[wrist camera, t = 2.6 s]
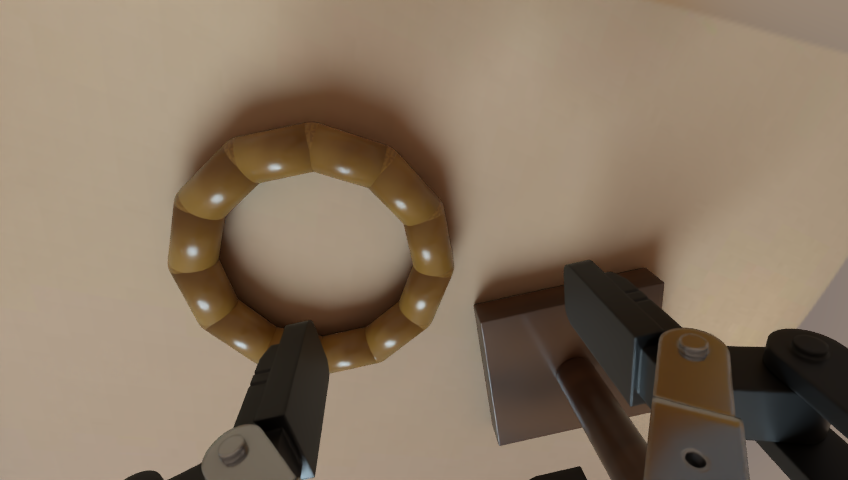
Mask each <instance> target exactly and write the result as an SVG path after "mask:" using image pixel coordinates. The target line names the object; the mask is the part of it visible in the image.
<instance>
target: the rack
mask: <svg viewBox="0 0 848 480" xmlns="http://www.w3.org/2000/svg"><path fill="white" fill-rule="evenodd" d="M618 275H620V276H622V277H625V278H627V279H628V280H629V281H630V282H632V283H633V284H634V285H635V286H636V287H637V288H638V289H639V291H642V292H643V293H644V294H645V295H646V296H647V297H648V299H651V300H652V301H653V302H654V303H655V304H656V305H657V306H659V307H660V308H661V309H662V301H663V291H664V282H663V281H662V280H660V279H659V278H658V277H657V276H655V275H654V274H653V273H652V272H650V271H649V270H648V269H647V268H642V269H637V270H632V271H628V272H623V273H619V274H618ZM474 311H475V317H476V323H477V330H478V336H479V342H480V349H481V355H482V362H483V368H484V374H485V381H486V387H487V393H488V400H489V406H490V412H491V419H492V425H493V428H494V431H495V435H496V438H497V441H498V444H499V446H501V445H506V444H510V443H515V442H519V441H524V440H528V439H533V438H537V437H542V436H546V435H551V434H555V433H560V432H564V431H569V430H573V429H578V428H582V427H583V429H584V431H585V433H586V435H587V436H588V438H589V440H590V442H591V444H592V446H593V447H594V449H595V451H596V453H597V455H598V457H599V458H600V460H601V462H602V464H603V466H604V468H605V469H606V471H607V473H608V475H609V477H610V479H611V480H643V479H644V470H645V461H646V452H647V443H646V442H645V440H644V439H643V437H642V436H641V434H640V433H639V431H638V430H637V428H636V427H635V425H634V424H633V423H632V421H631V420H630V418H629V417H632V416H636V415H641V414H645V413H650V412H651V409H650V408H649V406H648V405H647V404H646V403H645V404H641V405H637V406H632V407H630V405H629V404H628V403H627V401H626V400H625V399H624V397H623V396H622V394H621V393H620V392H619V390H618V389H617V388H616V386H615V385H614V383H613V382H612V381H611V379H610V378H609V376H608V375H607V374H606V372H605V371H604V370H603V368H602V367H601V365H600V364H599V363H598V361H597V360H596V359H595V357H594V356H593V354H592V353H591V352H590V350H589V349H588V347H587V346H586V345H585V343H584V342H583V341H582V339H581V338H580V336H579V335H578V334H577V332H576V331H575V330H574V328H573V327H572V325H571V324H570V322H569V320H568V317H567V314H566V310H565V298H564V285H563V286H559V287H554V288H549V289H545V290H540V291H536V292H531V293H526V294H522V295H517V296H512V297H508V298H503V299H499V300H494V301H489V302H485V303H480V304H476V305H474Z"/></svg>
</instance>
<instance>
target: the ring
mask: <svg viewBox="0 0 848 480" xmlns="http://www.w3.org/2000/svg"><path fill="white" fill-rule="evenodd" d="M309 172H317V173H320V174H323V175H327V176H330V177H333V178H337V179H340V180H343V181H347V182H350V183H353V184H357V185H360V186H364V187H367V188H369V189H370V190H371V191H372V192H373V193H374V194H375V195H376V196H377V197H378V198H379V199H380V200H381V201H382V202H383V203H384V204H385V205H386V206H387V207H388V208H389V209H390V210H391V211H392V212H393V213H394V214H395V215H396V216H397V217H398V219H399V220H400V221H401V222H402V223H403V224H404V227H405V232H406V236H407V240H408V245H409V249H410V254H411V258H412V262H413V266H412V269H411V271H410V274H409V277H408V279H407V282H406V285H405V287H404V290H403V293H402V295H401V298H400V300H399V302H397V303H396V304H395V305H394V306H392V307H391V308H390V309H389V310H387V311H386V312H385V313H384V314H382V315H381V316H380V317H379V318H377V319H376V320H375V321H373V322H372V323H371V324H370V325H368V326H367V327H363V328H358V329H354V330H349V331H344V332H340V333H335V334H331V335H326V336H320V335H318V336H319V339H320V341H321V344H322V347H323V349H324V352H325V354H326V357H327V360H328V365H329V374H330V373H334V372H339V371H343V370H348V369H352V368H357V367H362V366H366V365H371V364H375V363H379V362H382V361H384V360H385V359H387V358H388V357H389V356H391V355H392V354H393V353H395V352H396V351H397V350H399V349H400V348H401V347H402V346H404V345H405V344H406V343H408V342H409V341H410V340H412V339H413V338H414V337H416V336H417V335H418V334H420V333H421V332H422V331H424V330H425V329H426V328H427V327H428V326H429V325H430V324H431V322H432V320H433V318H434V316H435V314H436V311H437V309H438V307H439V304H440V302H441V300H442V297H443V295H444V293H445V290H446V288H447V286H448V283H449V281H450V279H451V276H452V274H453V270H454V262H453V256H452V250H451V245H450V239H449V233H448V228H447V222H446V216H445V210H444V206H443V204H442V202H441V200H440V199H439V198H438V197H437V196H436V195H435V193H434V192H433V191H432V190H431V189H430V188H429V187H428V186H427V185H426V184H425V182H424V181H423V180H422V179H421V178H420V177H419V176H418V175H417V174H416V172H415V171H414V170H413V169H412V168H411V167H410V166H409V165H408V164H407V163H406V161H405V160H404V159H403V158H402V157H401V156H400V155H399V154H398V153H397V152H396V151H395V150H394V149H393V148H391V147H390V146H387V145H384V144H381V143H378V142H375V141H372V140H369V139H366V138H363V137H360V136H357V135H354V134H351V133H348V132H344V131H341V130H338V129H335V128H332V127H329V126H326V125H323V124H320V123H317V122H307V123H302V124H297V125H292V126H287V127H283V128H278V129H273V130H268V131H263V132H259V133H254V134H249V135H244V136H240V137H236V138H232V139H230V140H229V141H227V142H226V143H225V144H224V145H223V146H222V147H221V148H220V149H219V150H218V151H217V152H216V153H215V154H214V155H213V156H212V157H211V158H210V159H209V160H208V161H207V162H206V163H205V164H204V166H203V167H202V168H201V169H200V170H199V171H198V172H197V173H196V174H195V175H194V176H193V177H192V178H191V179H190V180H189V181H188V182H187V183H186V184H185V185H184V186H183V187H182V188H181V189H180V190H179V192H178V193H177V194H176V197H175V200H174V207H173V216H172V226H171V235H170V245H169V254H168V268H169V271H170V272H171V274H172V276H173V278H174V280H175V282H176V283H177V285H178V287H179V289H180V291H181V292H182V294H183V296H184V298H185V300H186V302H187V303H188V305H189V307H190V309H191V311H192V312H193V314H194V316H195V318H196V320H197V321H198V323H199V325H200V326H201V327H202V328H203V329H204V330H206V331H207V332H209V333H211V334H212V335H214V336H215V337H217V338H218V339H220V340H221V341H223V342H224V343H226V344H227V345H229V346H230V347H232V348H233V349H235V350H236V351H238V352H239V353H241V354H242V355H244V356H245V357H247V358H248V359H250V360H251V361H253V362H255V363H257V364H258V362H259V360H260V358H261V357H262V356H263V354H264V353H265V352H266V351H267V350H268V348H269V347H270V346H271V345H275V344H279V343H280V340H281V337H282V334H283V331H284V328H280V327H276V326H275V325H273V324H272V323H270V322H269V321H268V320H266V319H265V318H263V317H262V316H261V315H259V314H258V313H257V312H255V311H254V310H252V309H251V308H250V307H248V306H247V305H245V304H244V303H243V302H241V301H240V300H239V299H238V298H237V296H236V294H235V292H234V290H233V288H232V286H231V284H230V282H229V280H228V277H227V275H226V273H225V271H224V269H223V267H222V265H221V263H220V261H219V253H220V246H221V240H222V234H223V228H224V221H225V216H226V215H227V214H228V213H229V212H230V211H231V210H232V209H233V208H234V207H235V206H236V205H237V204H238V203H239V202H240V201H241V200H242V199H243V198H245V197H246V196H247V195H248V194H249V193H250V192H251V191H252V190H253V189H254V188H255V187H256V186H257V185H258V184H259V183H262V182H267V181H271V180H276V179H281V178H286V177H290V176H295V175H300V174H304V173H309Z"/></svg>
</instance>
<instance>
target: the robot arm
mask: <svg viewBox="0 0 848 480" xmlns="http://www.w3.org/2000/svg"><path fill="white" fill-rule="evenodd" d="M564 298H565V310H566V314H567V317H568V320H569V322H570V324H571V325H572V327H573V328H574V330H575V331H576V332H577V334H578V335H579V336H580V338H581V339H582V341H583V342H584V343H585V345H586V346H587V347H588V349H589V350H590V352H591V353H592V354H593V356H594V357H595V359H596V360H597V361H598V363H599V364H600V365H601V367H602V368H603V370H604V371H605V372H606V374H607V375H608V376H609V378H610V379H611V381H612V382H613V383H614V385H615V386H616V388H617V389H618V390H619V392H620V393H621V394H622V396H623V397H624V399H625V400H626V401H627V403H628V404H629V405H630V407H632V406H637V405H641V404H645V403H646V404H647V405H648V406H649V408H650V409H651V415H650V424H649V433H648V442H647V452H646V461H645V470H644V479H643V480H750V477H749V468H748V460H747V449H746V440H755V441H756V442H757V443H758V444H759V445H760V446H761V447H762V449H763V450H764V451H765V452H766V453H767V454H768V455H769V456H770V457H771V459H772V460H773V461H774V462H775V463H776V464H777V465H778V466H779V467H780V468H781V470H782V471H783V472H784V473H785V474H786V475H787V476H788V477H789V478H790V480H848V444H847V443H846V442H845V441H844V440H843V439H842V438H841V437H839V436H838V435H837V434H836V433H835V432H834V431H832V429H830V425H831V424H832V425H833V426H834V427H835V428H836V429H837V430H838V431H840V432H841V433H842V434H843V435H844V436H845V437H847V438H848V348H846V347H845V346H843V345H842V344H840V343H838V342H837V341H835V340H833V339H831V338H829V337H827V336H824V335H821V334H819V333H815V332H812V331H807V330H801V329H781V330H777V331H775V332H772V333H771V334H770V335H769V336H768V339H767V343H766V347H735V346H726V345H725V344H724V343H723V342H722V341H721V340H720V339H718V338H717V337H715V336H713V335H711V334H709V333H707V332H704V331H701V330H697V329H692V328H682V327H681V326H680V325H679V324H678V323H677V322H675V321H674V320H673V319H672V318H671V317H670V316H669V315H668V314H666V313H665V312H664V311H663V310H662V309H661V308H660V307H659V306H657V305H656V304H655V303H654V302H653V301H652V300H651V299H648V297H647V296H646V295H645V294H644V293H643V292H642V291H639V289H638V288H637V287H636V286H635V285H634V284H633V283H632V282H630V281H629V280H628V279H627V278H625V277H622V276H620V275H618V274H615V273H613V272H607V273H604V272H603V271H602V270H601V269H600V268H599V267H598V266H597V265H596V264H595V263H594V262H593V261H591V260H586V261H582V262H577V263H572V264H568V265H565V267H564ZM328 382H329V365H328V360H327V357H326V354H325V352H324V349H323V347H322V344H321V341H320V339H319V336H318V333H317V331H316V328H315V326H314V324H313V322H312V321H311V320H309V321H304V322H299V323H295V324H290V325H286V326H285V328H284V331H283V334H282V337H281V340H280V343H279V344H275V345H271V346H270V347H269V348H268V350H267V351H266V352H265V353H264V354H263V356H262V357H261V358H260V360H259V362H258V365H257V367H256V370H255V375H253V378H252V380H251V383H250V385H251V386H250V387H249V388H248V391H247V394H246V396H245V399H244V401H243V404H242V407H241V409H240V412H239V415H238V417H237V420H236V422H235V425H234V428H233V429H231V430H229V431H227V432H226V433H224V434H223V435H221V436H220V437H219V438H218V439H217V440H216V441H214V443H213V444H212V445H211V446H210V447H209V449H208V450H207V452H206V453H205V455H204V458H203V460H202V463H200V464H199V465H197V466H195V467H193V468H191V469H189V470H187V471H185V472H183V473H181V474H179V475H177V476H175V477H173V478H171V479H169V480H305V479H309V478H313V477H315V472H316V465H317V458H318V451H319V444H320V438H321V431H322V424H323V417H324V410H325V403H326V396H327V389H328ZM125 480H164V479H163V478H162V477H161V475H160V474H159V473H158V472H156V471H143V472H139V473H137V474H134V475H132V476H130V477H128V478H126V479H125ZM530 480H587V479H586V477H585V475H584V473H583V471H582V469H581V467H580V466H579V467H574V468H570V469H566V470H561V471H557V472H553V473H548V474H544V475H540V476H535V477H534V478H532V479H530Z"/></svg>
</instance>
